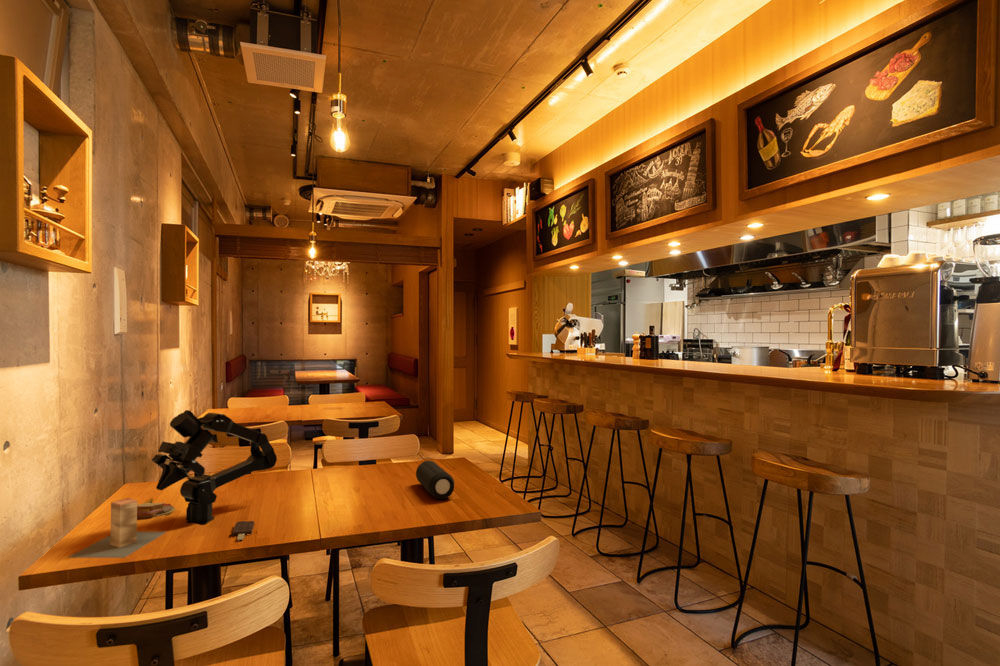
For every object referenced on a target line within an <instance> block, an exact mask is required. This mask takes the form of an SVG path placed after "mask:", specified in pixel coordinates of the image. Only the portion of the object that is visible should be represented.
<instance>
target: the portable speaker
mask: <svg viewBox="0 0 1000 666" xmlns="http://www.w3.org/2000/svg"><path fill="white" fill-rule="evenodd" d="M415 476H416V479H417V482H418V483H420V484H421V486H422V487H423V488H425V491H427V492H428V493H429V494H430V495H431V496H432V497H433V498H435V499H436V500H443V499H447V498H448V497H451V495H452V494H453V492H454V490H455V480H454V478H453V477H452V475H451V474H449V473H448V472H447V471H445V469H443V468H442V467H440V466H439V465H438V463H436V462H434V461H432V460H425V461H422V462H421V463H420V464H419V465H418V466H417V468H416V471H415Z"/></svg>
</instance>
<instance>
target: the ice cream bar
mask: <svg viewBox="0 0 1000 666" xmlns="http://www.w3.org/2000/svg"><path fill="white" fill-rule="evenodd" d="M253 526H254V527H255V521H254V520H249V521H248V520H240V521H237V522H235V525H234V527H233V529H232V533H231V537H232V536H236V540H237V541H238V542H241V541H240V540H242V541H244V539H245V537H246V536H245V535H247V534H251V533H252V534H253V531H254V530H253V529H254V527H253ZM252 530H253V531H252ZM252 534H251V535H252ZM247 536H248V535H247Z"/></svg>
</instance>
